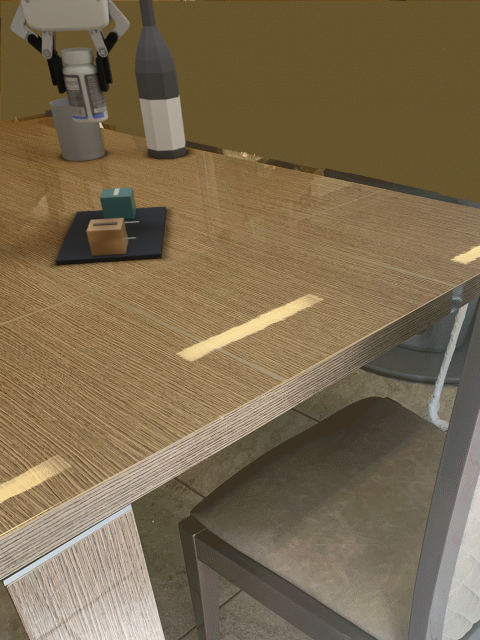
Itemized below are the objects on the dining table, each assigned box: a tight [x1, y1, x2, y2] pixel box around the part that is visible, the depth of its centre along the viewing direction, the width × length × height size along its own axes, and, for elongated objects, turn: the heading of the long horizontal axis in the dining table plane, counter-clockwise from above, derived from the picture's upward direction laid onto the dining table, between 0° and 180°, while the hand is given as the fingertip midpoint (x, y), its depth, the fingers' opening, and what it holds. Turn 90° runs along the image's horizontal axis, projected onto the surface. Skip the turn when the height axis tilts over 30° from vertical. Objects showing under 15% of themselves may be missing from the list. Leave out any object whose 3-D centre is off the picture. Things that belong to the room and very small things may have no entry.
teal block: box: [99, 186, 137, 220], centre depth 100 cm, size 4×4×4 cm
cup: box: [49, 97, 106, 162], centre depth 128 cm, size 8×8×10 cm
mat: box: [55, 206, 167, 266], centre depth 95 cm, size 14×20×1 cm
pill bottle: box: [60, 46, 109, 123], centre depth 85 cm, size 5×5×8 cm
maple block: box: [86, 218, 128, 256], centre depth 89 cm, size 4×4×4 cm
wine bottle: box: [134, 0, 187, 160], centre depth 123 cm, size 8×8×30 cm
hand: (84, 89), depth 85 cm, fingers closed on pill bottle, 4 cm apart
